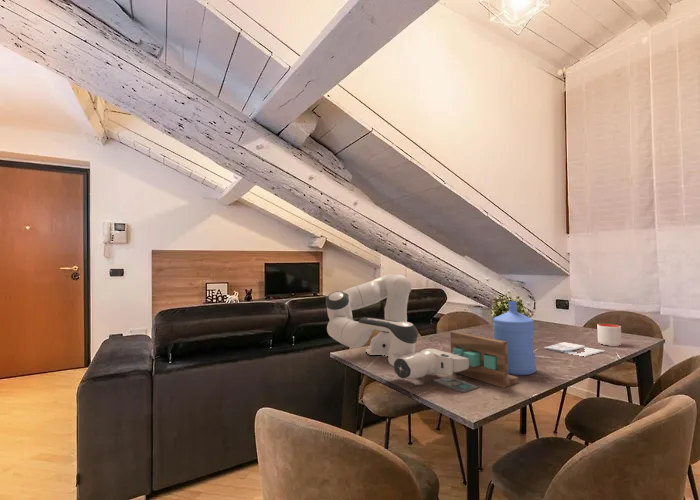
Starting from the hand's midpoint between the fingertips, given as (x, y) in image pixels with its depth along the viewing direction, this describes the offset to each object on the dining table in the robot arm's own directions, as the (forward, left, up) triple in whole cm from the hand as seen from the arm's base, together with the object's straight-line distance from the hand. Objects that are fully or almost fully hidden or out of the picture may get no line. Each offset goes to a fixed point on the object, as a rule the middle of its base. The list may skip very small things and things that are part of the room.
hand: (457, 355), depth 145 cm
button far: (+3, +2, -2) cm, 4 cm away
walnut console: (+9, -2, -8) cm, 12 cm away
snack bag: (+66, +36, -9) cm, 76 cm away
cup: (+90, +47, -8) cm, 102 cm away
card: (-4, -11, -8) cm, 14 cm away
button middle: (+5, -5, -2) cm, 7 cm away
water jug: (+25, +6, -8) cm, 27 cm away
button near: (+12, -9, -2) cm, 15 cm away
